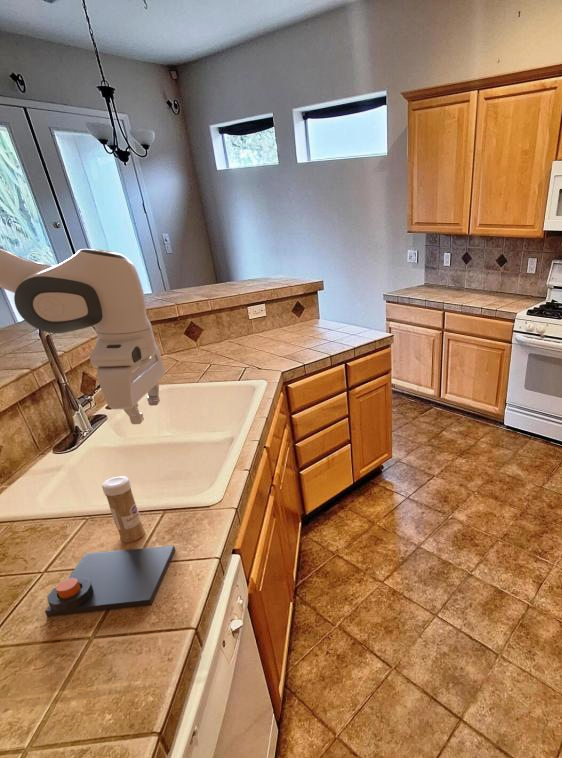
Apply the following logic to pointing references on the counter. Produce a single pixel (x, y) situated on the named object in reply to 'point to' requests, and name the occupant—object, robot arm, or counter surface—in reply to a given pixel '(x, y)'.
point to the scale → (114, 581)
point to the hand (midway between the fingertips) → (146, 413)
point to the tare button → (68, 588)
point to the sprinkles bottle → (123, 508)
